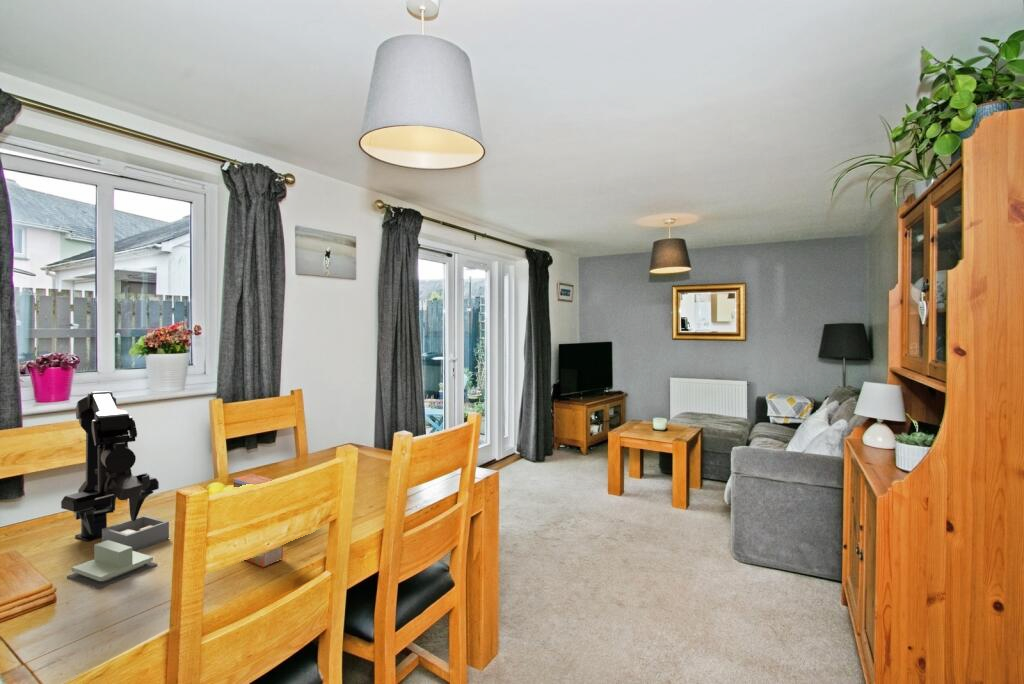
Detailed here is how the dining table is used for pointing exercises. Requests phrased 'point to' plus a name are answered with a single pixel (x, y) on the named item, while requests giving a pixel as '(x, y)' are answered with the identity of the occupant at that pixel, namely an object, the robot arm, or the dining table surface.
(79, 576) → the mat
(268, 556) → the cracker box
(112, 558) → the lid
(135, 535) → the storage box
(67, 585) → the dining table surface
